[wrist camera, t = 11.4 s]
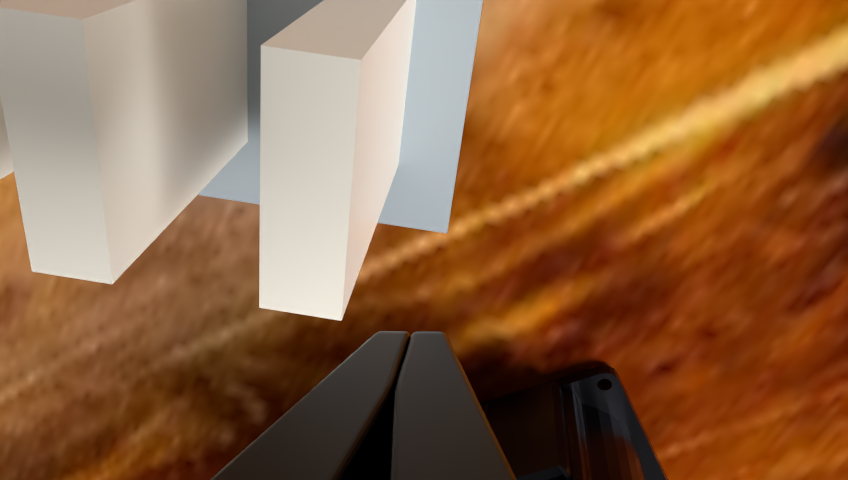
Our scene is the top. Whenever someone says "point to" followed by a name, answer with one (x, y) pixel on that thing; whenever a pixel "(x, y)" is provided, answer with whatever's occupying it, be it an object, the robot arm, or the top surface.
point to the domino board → (423, 116)
